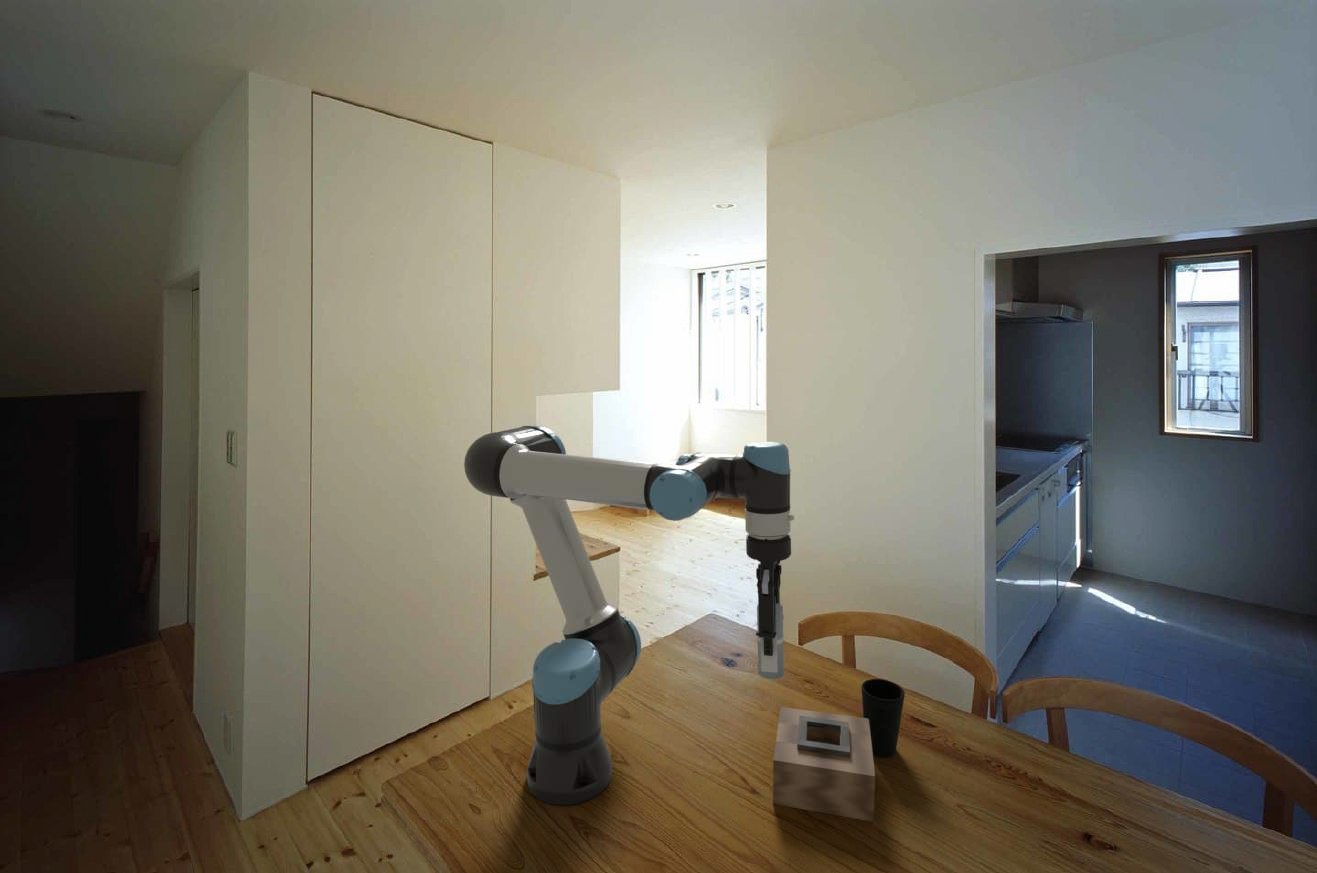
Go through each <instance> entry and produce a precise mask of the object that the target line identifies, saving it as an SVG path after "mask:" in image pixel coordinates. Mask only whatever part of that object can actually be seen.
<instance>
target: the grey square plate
mask: <svg viewBox="0 0 1317 873" xmlns="http://www.w3.org/2000/svg"><path fill="white" fill-rule="evenodd" d="M810 741H812V742H819V743H826V744H833V745H837V743H834V742H828V741H821V740H814V739H810Z"/></svg>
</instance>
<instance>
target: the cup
mask: <svg viewBox="0 0 1317 873" xmlns="http://www.w3.org/2000/svg"><path fill="white" fill-rule="evenodd" d="M860 687H861V702H862V716H863V717H862V718H867V719H869V725H870V734H871V743H872V752H873V756H876V757H879V758H891V757H893V756H895V755H896V752H897V745H898V740H899V733H900V727H901V721H902V713H903V710H904V709H903V707H904V701H905V694H906V693H905V690H904V689H903V687H902V686H900V685H899V684H898V683H895V682H893V681H890V680H888V679H882V678H869V679H867V680H865V681H863V682H862V683H861V686H860Z"/></svg>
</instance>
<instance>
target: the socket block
mask: <svg viewBox="0 0 1317 873" xmlns="http://www.w3.org/2000/svg"><path fill="white" fill-rule="evenodd" d="M779 709H780V710H779V714H778V716H779V717H778V723H777V724H778V725H777V730H776V740H775V745H774V752H773V763H772V764H773V767H772V770H773V771H772V772H773V773H772V774H773V775H772V776H773V777H772V781H773V782H772V805H776V806H777V805H778V806H783V807H789V808H794V809H795V808H796V809H800V810H805V811H810V812H817V813H820V814H821V813H823V814H828V815H834V816H839V817H845V818H851V819H856V820H860V821H861V820H862V821H865V822H866V821H867V822H873V823H874V821H875V820H874V818H875V791H876V790H875V789H876V772H875V763H874V755H873V752H872V743H871V734H870V725H869V719H867V718H863V717H859V716H852V715H844V714H837V713H831V712H822V711H815V710H807V709H798V708H794V707H786V706H785V707H784V706H780V708H779ZM810 739H814V740H821V741H828V742H834V743H837V745H833V744H826V743H819V742H812V741H810Z"/></svg>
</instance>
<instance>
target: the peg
mask: <svg viewBox="0 0 1317 873" xmlns="http://www.w3.org/2000/svg"><path fill="white" fill-rule="evenodd" d="M783 607H784V606H783V605H782V604H781V603H780V604H779V603H776V634H777V664H778V671H777V673H775V672H765V671H761V642H760V637H759V636H756V637H757V639H756V640H757V667H758V675H759V676H760V677H762V678H764V679H766V680H767V679H769V680H777V679H780V678H783V677H784V675H785V661H784V660H785V658H784V655H785V652H784V639H785V638H784V608H783ZM756 622H757V623H756V626H757V627H756V628H757V630H756V632H757V631H758V632H759V611H758V604H757V606H756Z"/></svg>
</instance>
